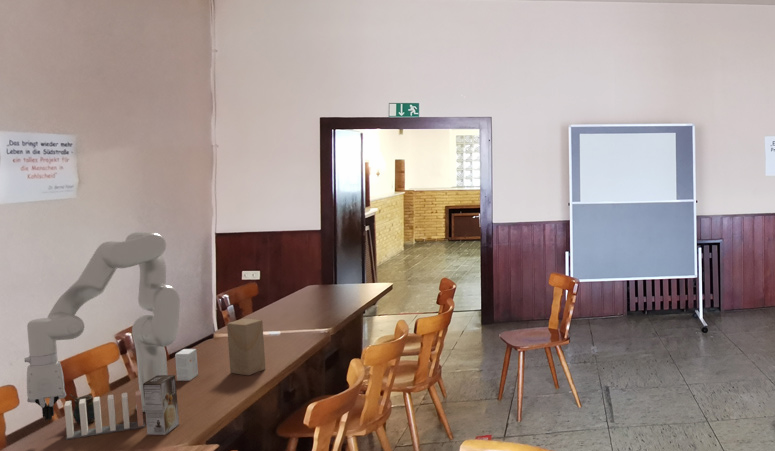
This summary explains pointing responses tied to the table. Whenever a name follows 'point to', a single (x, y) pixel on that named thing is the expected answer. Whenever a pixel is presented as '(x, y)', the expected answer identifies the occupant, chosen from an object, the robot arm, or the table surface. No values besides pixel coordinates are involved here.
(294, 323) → the table surface
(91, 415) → the mate gourd
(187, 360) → the small box
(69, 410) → the domino
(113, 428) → the domino
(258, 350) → the wooden block
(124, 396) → the domino
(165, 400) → the coffee box
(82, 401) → the domino
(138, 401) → the domino
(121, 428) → the mat
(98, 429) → the domino
